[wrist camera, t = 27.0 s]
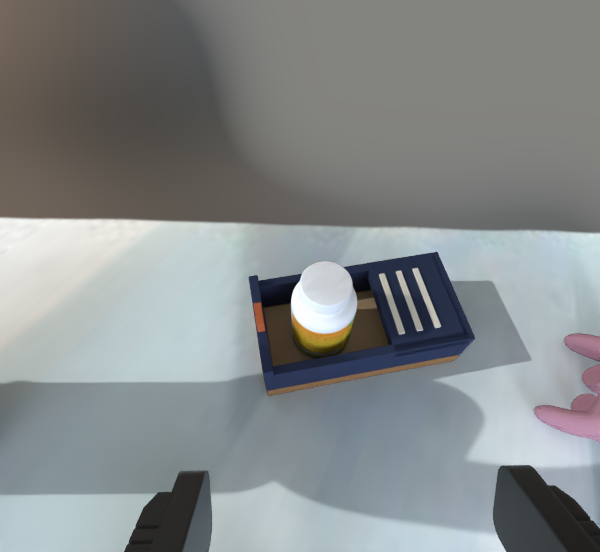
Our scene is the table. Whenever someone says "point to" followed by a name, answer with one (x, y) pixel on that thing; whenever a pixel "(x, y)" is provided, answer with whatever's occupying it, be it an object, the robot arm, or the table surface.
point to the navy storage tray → (366, 325)
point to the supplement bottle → (323, 310)
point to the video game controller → (586, 407)
